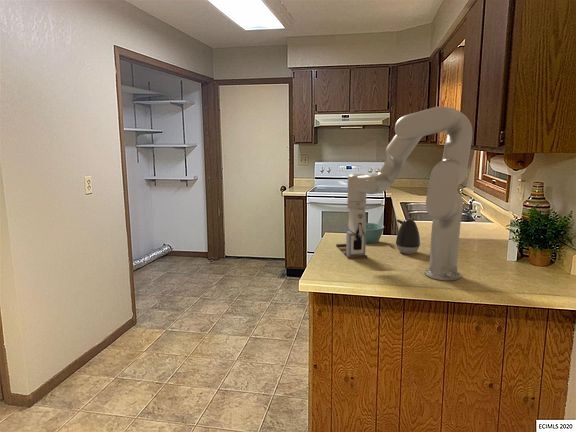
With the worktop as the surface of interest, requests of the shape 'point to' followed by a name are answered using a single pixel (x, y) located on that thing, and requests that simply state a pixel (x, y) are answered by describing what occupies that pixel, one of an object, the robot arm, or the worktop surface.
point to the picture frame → (350, 244)
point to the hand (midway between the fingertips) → (355, 247)
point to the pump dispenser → (408, 237)
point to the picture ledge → (343, 249)
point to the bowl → (373, 232)
